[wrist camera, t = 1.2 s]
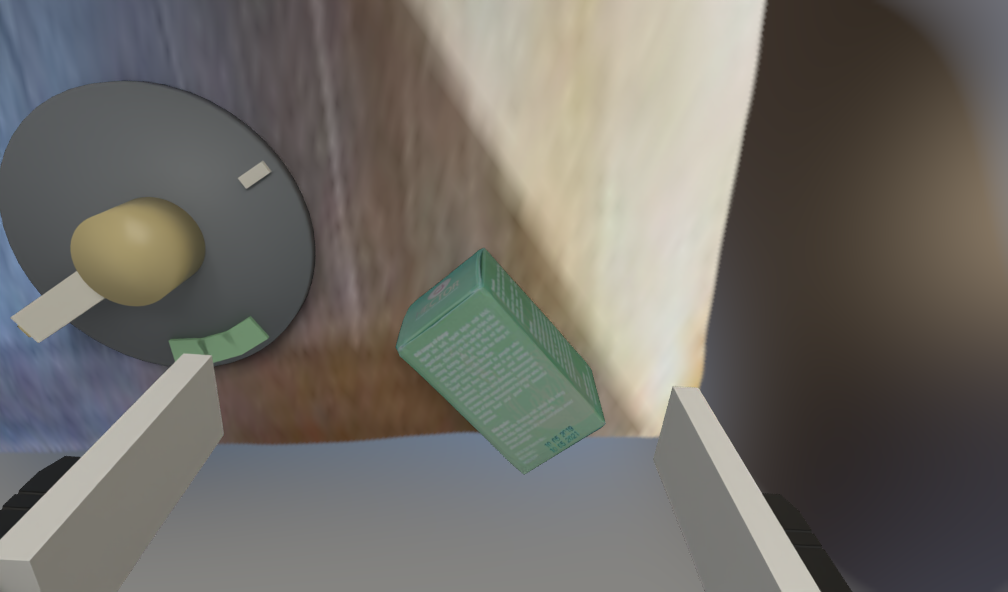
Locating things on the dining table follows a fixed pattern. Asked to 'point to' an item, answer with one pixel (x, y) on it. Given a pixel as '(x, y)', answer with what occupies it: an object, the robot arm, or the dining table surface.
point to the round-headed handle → (120, 263)
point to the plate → (178, 179)
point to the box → (501, 363)
